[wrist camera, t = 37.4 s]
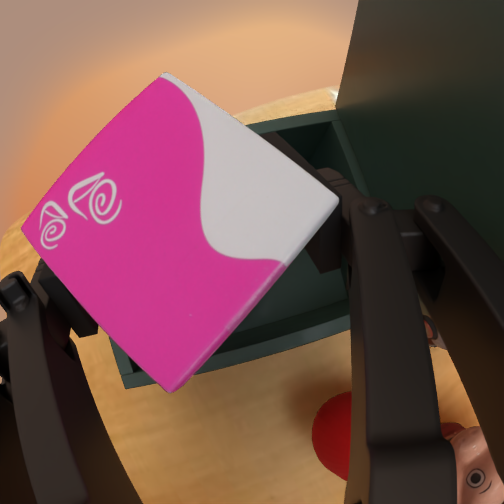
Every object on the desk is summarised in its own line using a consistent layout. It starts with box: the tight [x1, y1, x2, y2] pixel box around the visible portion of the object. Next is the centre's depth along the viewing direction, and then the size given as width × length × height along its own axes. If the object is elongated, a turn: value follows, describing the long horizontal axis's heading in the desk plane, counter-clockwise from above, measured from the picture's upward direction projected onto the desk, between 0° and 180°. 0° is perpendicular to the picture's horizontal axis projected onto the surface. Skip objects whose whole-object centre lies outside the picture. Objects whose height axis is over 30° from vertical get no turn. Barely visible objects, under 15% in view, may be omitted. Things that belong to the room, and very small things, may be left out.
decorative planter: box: [440, 423, 504, 504], centre depth 18 cm, size 20×12×14 cm, turn 34°
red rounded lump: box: [312, 391, 352, 481], centre depth 21 cm, size 9×7×10 cm
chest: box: [109, 110, 371, 389], centre depth 23 cm, size 18×14×9 cm
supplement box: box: [21, 72, 339, 393], centre depth 12 cm, size 6×6×12 cm
